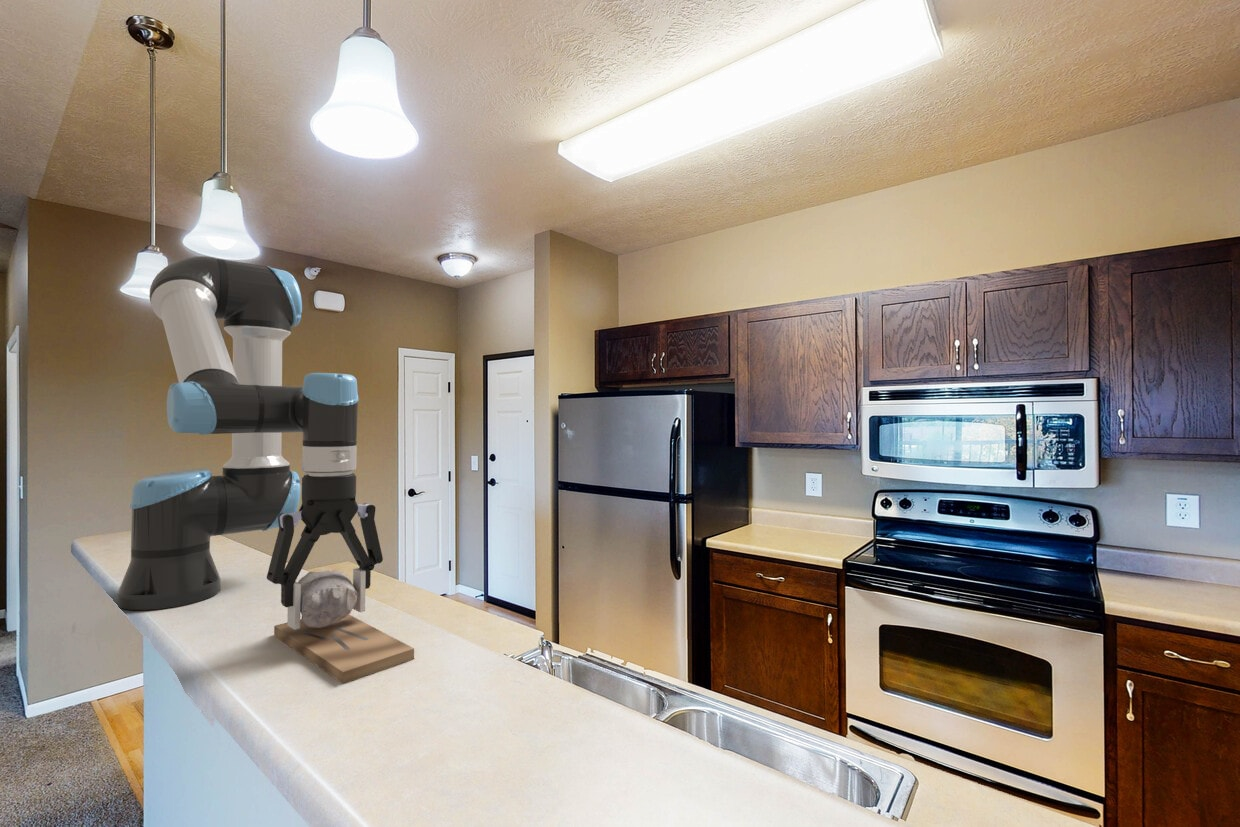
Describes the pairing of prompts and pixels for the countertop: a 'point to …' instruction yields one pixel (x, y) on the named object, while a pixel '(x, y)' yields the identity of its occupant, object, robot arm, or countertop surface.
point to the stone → (326, 598)
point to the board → (346, 647)
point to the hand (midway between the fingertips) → (327, 617)
